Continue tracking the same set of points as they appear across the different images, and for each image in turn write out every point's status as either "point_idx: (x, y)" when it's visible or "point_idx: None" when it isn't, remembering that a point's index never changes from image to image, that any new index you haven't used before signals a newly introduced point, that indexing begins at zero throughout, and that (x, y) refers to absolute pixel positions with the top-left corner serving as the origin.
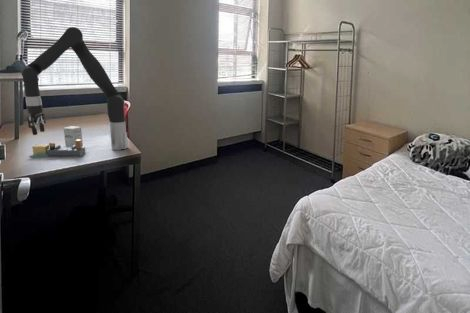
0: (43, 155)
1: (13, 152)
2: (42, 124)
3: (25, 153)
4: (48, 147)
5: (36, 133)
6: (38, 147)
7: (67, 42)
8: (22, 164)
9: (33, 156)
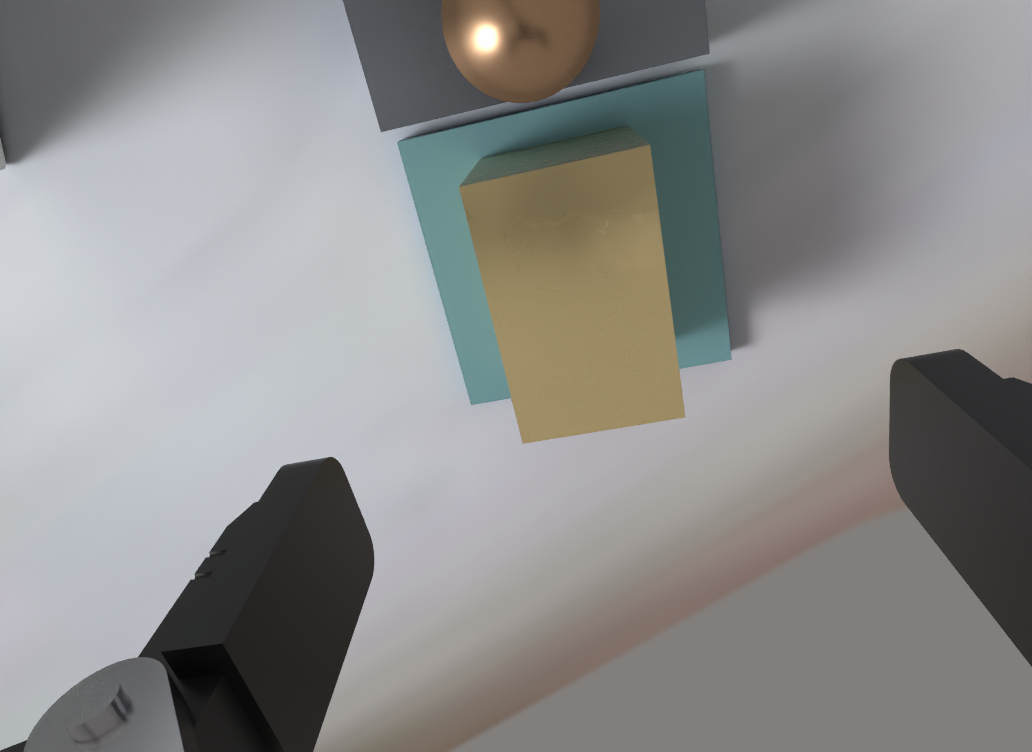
0: (663, 157)
1: (530, 676)
2: (197, 723)
3: (541, 530)
4: (493, 170)
5: (984, 370)
6: (668, 291)
7: None
8: None
9: (724, 299)
